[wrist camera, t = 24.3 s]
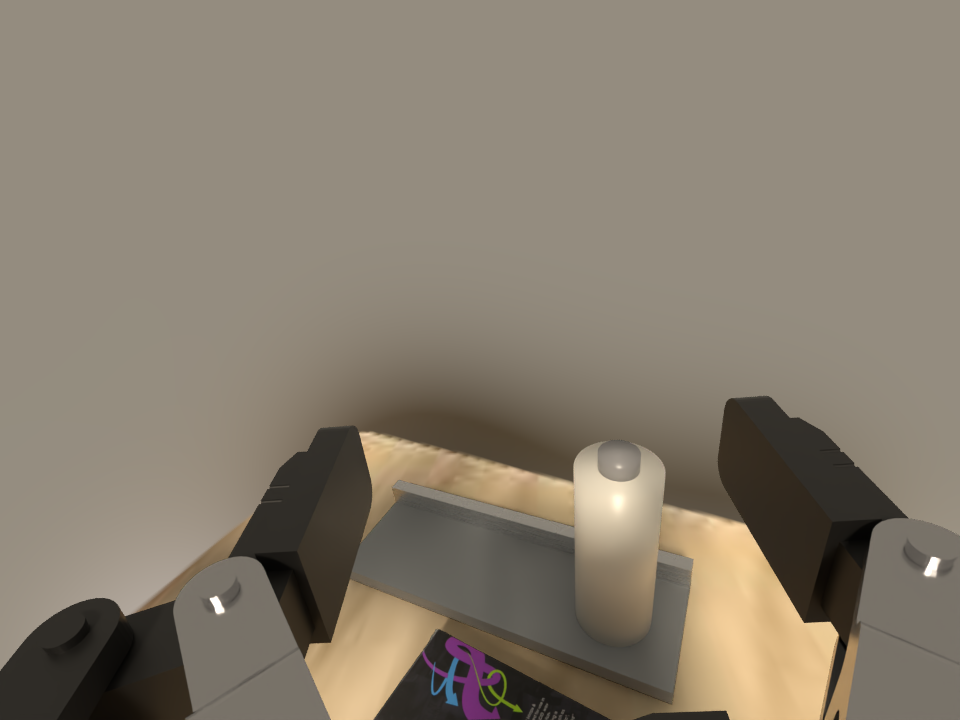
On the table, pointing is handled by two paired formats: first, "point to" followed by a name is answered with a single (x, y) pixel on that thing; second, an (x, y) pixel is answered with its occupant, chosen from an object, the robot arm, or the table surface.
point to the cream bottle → (616, 539)
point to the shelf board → (515, 595)
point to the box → (474, 689)
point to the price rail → (521, 526)
